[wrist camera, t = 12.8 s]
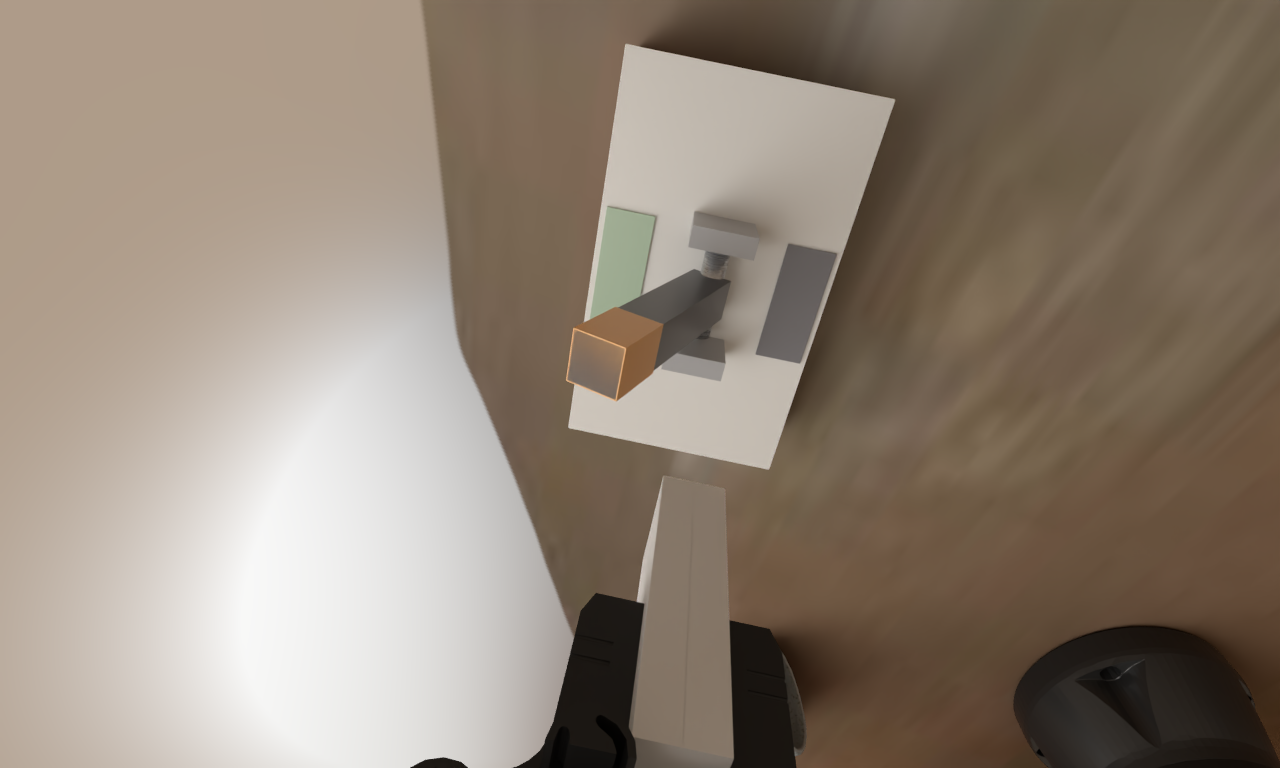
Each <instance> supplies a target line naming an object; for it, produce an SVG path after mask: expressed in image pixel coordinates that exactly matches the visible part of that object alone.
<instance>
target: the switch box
mask: <svg viewBox="0 0 1280 768" xmlns="http://www.w3.org/2000/svg"><path fill="white" fill-rule="evenodd" d="M894 102H895V99H891V98H886V97H881V96H876V95H872V94H867V93H862V92H857V91H852V90H847V89H842V88H837V87H833V86H828V85H823V84H818V83H813V82H808V81H803V80H799V79H794V78H789V77H784V76H779V75H774V74H769V73H764V72H760V71H755V70H750V69H745V68H740V67H735V66H730V65H726V64H721V63H716V62H711V61H706V60H701V59H696V58H691V57H687V56H682V55H677V54H672V53H667V52H662V51H657V50H653V49H648V48H643V47H638V46H633V45H628V44H625V51H624V58H623V64H622V71H621V78H620V84H619V91H618V98H617V104H616V111H615V118H614V124H613V131H612V138H611V145H610V151H609V158H608V165H607V171H606V178H605V185H604V191H603V198H602V205H601V212H600V218H599V225H598V232H597V238H596V245H595V252H594V258H593V265H592V272H591V278H590V285H589V292H588V299H587V305H586V312H585V319H584V322H586V321H588V320H590V319H592V318H594V317H596V316H598V315H600V314H602V313H604V312H606V311H608V310H610V309H612V308H614V307H617V308H618V307H620V306H622V305H624V304H626V303H628V302H630V301H632V300H634V299H636V298H638V297H640V296H642V295H644V294H646V293H647V292H649V291H651V290H653V289H655V288H657V287H659V286H661V285H663V284H665V283H667V282H669V281H671V280H673V279H675V278H677V277H679V276H681V275H683V274H685V273H687V272H689V271H691V270H693V269H696V270H699V271H701V268H702V263H703V259H704V255H705V251H709V252H714V253H719V254H723V255H728V256H730V258H729V262H728V266H727V270H726V273H725V277H724V279H727V280H730V281H731V284H730V288H729V292H728V296H727V300H726V303H725V307H724V311H723V315H722V319H721V320H720V321H718V322H717V323H716V324H714V325H713V326H712V328H711V332H710V336H709V338H708V339H695V340H693V341H692V342H691V343H689V344H688V345H687V346H685V347H684V348H683V349H681V350H680V351H679V352H678V353H676V354H675V355H674V356H672V357H671V358H670V359H668V360H667V361H666V362H664V363H663V364H662V365H660V366H659V367H658V368H657V369H655V370H654V371H653V374H652V375H650V376H649V377H648V378H646V379H645V380H644V381H642V382H641V383H640V384H639V385H637V386H636V387H635V388H633V389H632V390H631V391H629V392H628V393H627V394H626V395H624V396H623V397H622V398H620V399H619V400H618V401H614V400H611V399H609V398H606V397H604V396H602V395H599V394H597V393H594V392H592V391H590V390H587V389H585V388H583V387H580V386H578V385H575V386H574V392H573V399H572V406H571V412H570V419H569V426H568V428H572V429H576V430H581V431H586V432H591V433H596V434H600V435H605V436H610V437H615V438H620V439H624V440H629V441H634V442H639V443H643V444H648V445H653V446H658V447H663V448H667V449H672V450H677V451H682V452H687V453H691V454H696V455H701V456H706V457H711V458H715V459H720V460H725V461H730V462H735V463H739V464H744V465H749V466H754V467H759V468H763V469H768V470H769V468H770V465H771V462H772V459H773V456H774V453H775V451H776V448H777V445H778V442H779V439H780V436H781V433H782V430H783V427H784V424H785V421H786V418H787V415H788V412H789V410H790V407H791V404H792V401H793V398H794V395H795V392H796V389H797V386H798V383H799V380H800V377H801V374H802V372H803V369H804V366H805V363H806V360H807V357H808V354H809V351H810V348H811V345H812V342H813V339H814V336H815V333H816V331H817V328H818V325H819V322H820V319H821V316H822V313H823V310H824V307H825V304H826V301H827V298H828V295H829V293H830V290H831V287H832V284H833V281H834V278H835V275H836V272H837V269H838V266H839V263H840V260H841V257H842V255H843V252H844V249H845V246H846V243H847V240H848V237H849V234H850V231H851V228H852V225H853V222H854V219H855V216H856V214H857V211H858V208H859V205H860V202H861V199H862V196H863V193H864V190H865V187H866V184H867V181H868V178H869V176H870V173H871V170H872V167H873V164H874V161H875V158H876V155H877V152H878V149H879V146H880V143H881V140H882V137H883V135H884V132H885V129H886V126H887V123H888V120H889V117H890V114H891V111H892V108H893V105H894Z"/></svg>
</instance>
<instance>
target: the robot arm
mask: <svg viewBox="0 0 1280 768" xmlns="http://www.w3.org/2000/svg"><path fill="white" fill-rule="evenodd" d="M787 700H788V695H787V687H786V683H785V671H784V663H783V655H782V651H781V650H780V648H779V646H778V644H777V642H776V640H775V639H774V637H773V635H772V633H771V631H770V629H767V628H762V627H758V626H753V625H749V624H744V623H739V622H735V621H730V620H729V595H728V565H727V534H726V503H725V488H721V487H716V486H711V485H707V484H702V483H697V482H693V481H688V480H683V479H679V478H674V477H669V476H665V475H664V476H663V480H662V484H661V488H660V492H659V496H658V500H657V504H656V509H655V513H654V517H653V521H652V525H651V529H650V533H649V537H648V541H647V545H646V549H645V554H644V558H643V563H642V570H641V577H640V584H639V591H638V598H637V602H635V601H630V600H626V599H621V598H617V597H612V596H607V595H603V594H598V593H596V594H595V595H594V596H593V597H592V598H591V599H590V601H589V602H588V603H587V604H586V605H585V607H584V608H583V609H582V610H581V612H580V616H579V620H578V624H577V629H576V633H575V637H574V641H573V645H572V649H571V653H570V657H569V661H568V665H567V669H566V673H565V677H564V682H563V685H562V689H561V694H560V697H559V701H558V705H557V710H556V713H555V717H554V722H553V724H552V726H551V728H550V730H549V733H548V734H547V737H546V739H545V744H544V745H543V747H542V748H541V750H540V751H539V752H538V753H537V754H536V755H535V756H533V757H532V758H531V759H530V760H528V761H526V762H525V763H523V764H521V765H519V766H517V767H514V768H796V760H795V752H794V744H793V736H792V728H791V720H790V712H789V704H788V703H787ZM1014 712H1015V716H1016V719H1017V721H1018V723H1019V725H1020V727H1021V729H1022V731H1023V733H1024V735H1025V737H1026V740H1027V742H1028V744H1029V745H1030V747H1031V748H1032V750H1033V751H1034V753H1035V754H1036V755H1037V756H1038V758H1039V759H1040V760H1041V761H1042V762H1043V763H1044V764H1045V765H1046V766H1047V767H1049V768H1280V761H1279V759H1278V757H1277V755H1276V752H1275V750H1274V748H1273V746H1272V744H1271V742H1270V739H1269V737H1268V735H1267V733H1266V731H1265V729H1264V727H1263V725H1262V722H1261V720H1260V718H1259V716H1258V714H1257V712H1256V710H1255V704H1254V701H1253V698H1252V695H1251V693H1250V690H1249V688H1248V687H1247V685H1246V683H1245V682H1244V680H1243V679H1242V678H1241V676H1240V675H1239V674H1238V673H1237V672H1236V670H1235V669H1234V668H1233V667H1232V666H1231V665H1230V664H1229V663H1228V661H1227V660H1226V659H1225V658H1224V657H1223V656H1222V655H1221V653H1220V652H1219V651H1218V650H1216V649H1215V648H1214V647H1213V646H1212V645H1210V644H1209V643H1207V642H1205V641H1204V640H1202V639H1200V638H1198V637H1195V636H1193V635H1190V634H1187V633H1184V632H1180V631H1176V630H1171V629H1164V628H1154V627H1131V628H1120V629H1113V630H1107V631H1103V632H1098V633H1095V634H1091V635H1088V636H1085V637H1082V638H1079V639H1076V640H1074V641H1071V642H1069V643H1067V644H1065V645H1063V646H1061V647H1059V648H1057V649H1055V650H1053V651H1052V652H1050V653H1049V654H1047V655H1046V656H1044V657H1043V658H1041V659H1040V660H1039V661H1038V662H1037V663H1035V664H1034V665H1033V666H1032V667H1031V668H1030V669H1029V670H1028V671H1027V673H1026V674H1025V675H1024V676H1023V678H1022V680H1021V681H1020V683H1019V685H1018V687H1017V689H1016V692H1015V696H1014ZM411 768H468V767H466V766H465V765H464V764H463V763H462V762H459V761H456V760H452V759H448V758H436V759H428V760H424V761H422V762H420V763H418V764H416V765H414V766H413V767H411Z"/></svg>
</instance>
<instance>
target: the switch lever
mask: <svg viewBox="0 0 1280 768" xmlns="http://www.w3.org/2000/svg"><path fill="white" fill-rule="evenodd" d="M729 258H730V256H728V255H723V254H719V253H714V252H709V251H705V255H704V259H703V263H702V268H701V271H699V270H696V269H693V270H691V271H689V272H687V273H685V274H683V275H681V276H679V277H677V278H675V279H673V280H671V281H669V282H667V283H665V284H663V285H661V286H659V287H657V288H655V289H653V290H651V291H649V292H647V293H646V294H644V295H642V296H640V297H638V298H636V299H634V300H632V301H630V302H628V303H626V304H624V305H622V306H620V307H618V308H617V307H614V308H612V309H610V310H608V311H606V312H604V313H602V314H600V315H598V316H596V317H594V318H592V319H590V320H588V321H586V322H584V323H582V324H580V325H578V326H576V327H574V329H573V336H572V343H571V350H570V357H569V364H568V371H567V378H566V381H568V382H571V383H573V384H575V385H578V386H580V387H583V388H585V389H587V390H590V391H592V392H594V393H597V394H599V395H602V396H604V397H606V398H609V399H611V400H614V401H618V400H619V399H620V398H622V397H623V396H624V395H626V394H627V393H628V392H629V391H631V390H632V389H633V388H635V387H636V386H637V385H639V384H640V383H641V382H642V381H644V380H645V379H646V378H648V377H649V376H650V375H652V374H653V371H654V370H655V369H657V368H658V367H659V366H660V365H662V364H663V363H664V362H666V361H667V360H668V359H670V358H671V357H672V356H674V355H675V354H676V353H678V352H679V351H680V350H681V349H683V348H684V347H685V346H687V345H688V344H689V343H691V342H692V341H693V340H695V339H708V338H709V336H710V332H711V328H712V326H713V325H714V324H716V323H717V322H718V321H720V320H721V319H722V315H723V311H724V307H725V303H726V300H727V296H728V292H729V288H730V284H731V281H730V280H727V279H724V277H725V273H726V270H727V266H728V262H729Z"/></svg>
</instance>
